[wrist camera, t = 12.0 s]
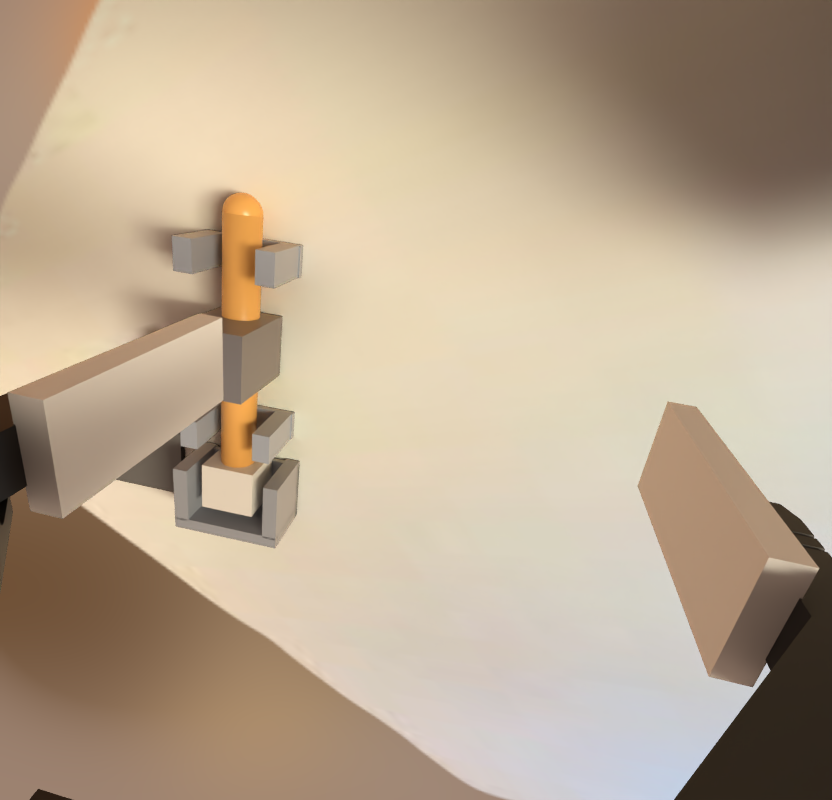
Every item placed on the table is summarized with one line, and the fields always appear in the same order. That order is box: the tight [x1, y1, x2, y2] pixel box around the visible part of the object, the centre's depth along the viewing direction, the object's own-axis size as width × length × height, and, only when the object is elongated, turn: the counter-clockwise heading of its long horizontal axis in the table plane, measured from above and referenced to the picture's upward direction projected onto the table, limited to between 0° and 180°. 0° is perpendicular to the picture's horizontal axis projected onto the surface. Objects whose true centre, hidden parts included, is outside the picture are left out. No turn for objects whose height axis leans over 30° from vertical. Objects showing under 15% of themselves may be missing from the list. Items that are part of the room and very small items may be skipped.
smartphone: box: [116, 432, 185, 492], centre depth 50 cm, size 7×1×15 cm
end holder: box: [173, 442, 300, 548], centre depth 47 cm, size 6×9×5 cm, turn 82°
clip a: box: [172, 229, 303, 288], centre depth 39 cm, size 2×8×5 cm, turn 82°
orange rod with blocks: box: [202, 193, 282, 517], centre depth 41 cm, size 25×5×7 cm, turn 172°
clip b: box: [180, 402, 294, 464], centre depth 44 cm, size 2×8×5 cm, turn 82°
